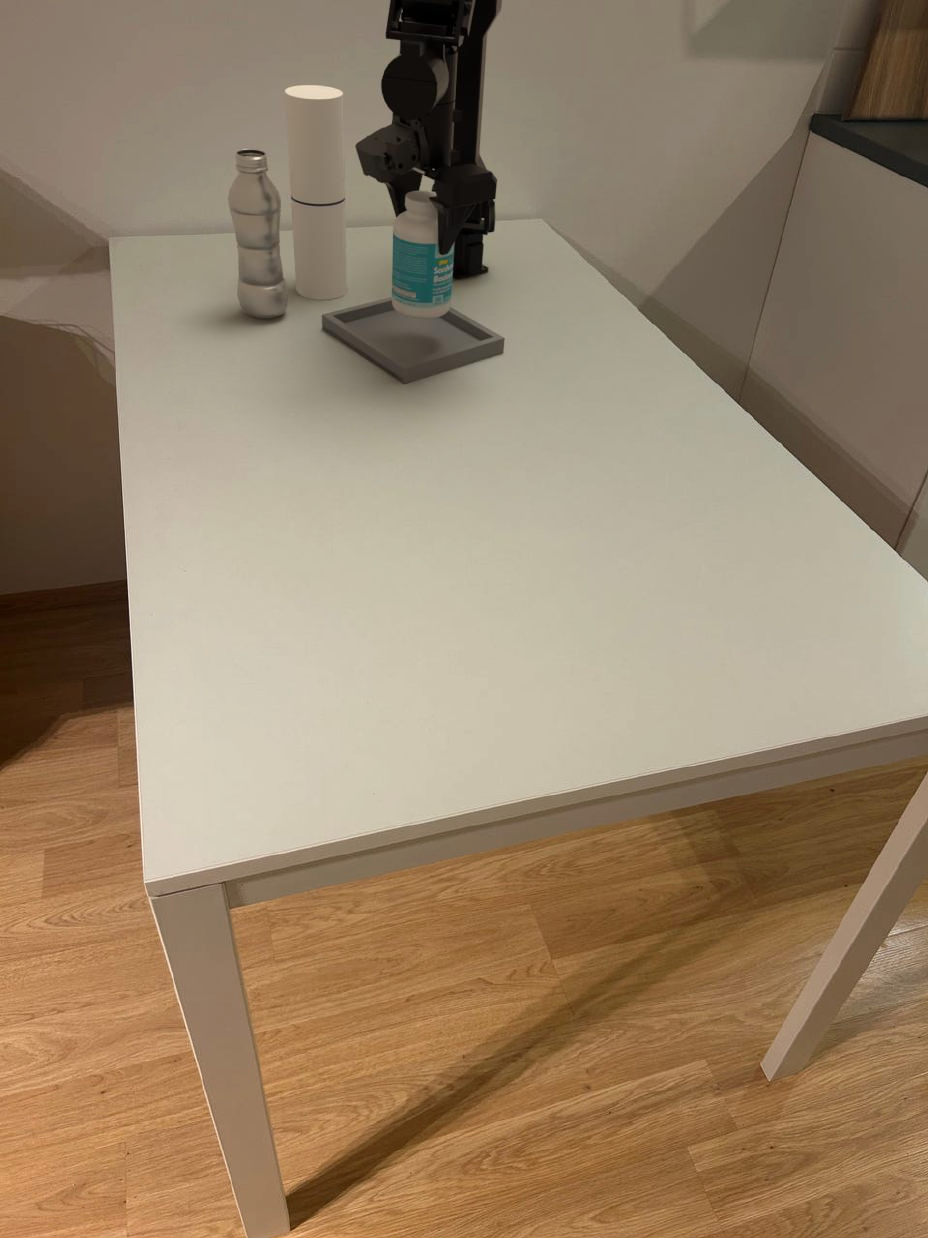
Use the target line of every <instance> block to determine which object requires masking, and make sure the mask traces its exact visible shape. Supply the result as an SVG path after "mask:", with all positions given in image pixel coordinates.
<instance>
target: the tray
mask: <svg viewBox="0 0 928 1238" xmlns="http://www.w3.org/2000/svg"><path fill="white" fill-rule="evenodd" d="M321 327H322V330H323V331H324V332H326V333H327V334H329V335H330V336H332V337H333V338H335V339H336V340H337V341H339V342H340V343H342V344H343V345H345V346H347V347H348V348H350V349H351V350H353V351H354V352H356V353H357V354H358V355H360V356H361V357H363V358H365V360H367V361H369V362H371V364H374V365H375V366H377V367H378V368H380V369H381V370H383V372H385V373H387V374H388V375H390V376H391V377H392V378H394V379H396V380H397V381H399V382H400V383H401V384H403V385H407V384H408V383H413V382H415V381H419V380H421V379H424V378H427V377H430V376H433V375H436V374H440V373H444V372H446V371H450V370H453V369H456V368H459V367H462V366H466V365H468V364H471V363H475V362H478V361H481V360H484V359H488V358H491V357H493V356H497V355H500V354H503V353H504V349H505V348H504V347H505V340H506V339H505V337H504V336H502V335H500V334H498V333H497V332H495V331H493V330H491V329H490V328H488V327H486V326H485V325H483V324H481V323H479V322H477V321H476V320H474V319H472V318H471V317H468V316H467V315H465V314H463V313H461V312H460V311H458V310H456V309H454V308H453V307H451V306H450V309H449V311H448V312H447V313H446V314H444V315H442V316H440V317H437V318H431V319H418V318H412V317H408V316H405V315H402V314H400V313H399V312H397V311H396V310H395V309H394V307H393V305H392V296H389V297H385V298H382V299H377V300H374V301H370V302H365V303H361V304H358V305H357V304H356V305H354V306H349V307H346V308H342V309H337V310H334V311H330V312H327V313H323V314H321Z"/></svg>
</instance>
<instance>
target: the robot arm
mask: <svg viewBox="0 0 928 1238" xmlns="http://www.w3.org/2000/svg"><path fill="white" fill-rule="evenodd" d="M502 4H503V0H390V2H389V6H388V7H389V8H388V15H387V21H386V28H385V39H386V40H393V41H399V52H398V53H399V54H398V55H397V56H395V57H394V58H393V59H392V60H390V62H388V64H387V66H386V67H385V68H384V70H383V74H382V77H381V79H380V81H381V82H380V88H381V95H382V97H383V100H384V103H385V105H386V106H387V108H388V109H389V110H390V111H391V112H392V119H391V120H392V121H391V124H389V125H387V126H384V127H381V128H379V129H377V130H376V131H374V132H373V133H371V134H369V135H366V137H364V138H363V139H361V140H359V141H358V142H356V144H355V150H356V153H357V157H358V159H359V160H358V161H359V162H360V166H361V170H362V172H363V173H362V174H363V175H364V176H366V177H370V178H373V179H375V180H376V181H377V182H378V183H380V184H384V185H385V186H386V188H387V192H388V194H389V198H390V200H391V204H392V209H393V211H394V215H395V219H396V218H397V216H398V215H400V214H401V213H403V212H405V211H407V209H406V206H405V196H406V194H407V193H409V192H412V191H421V185H422V181H423V180H422V179H423V176H424V177H426V178H428V179H431V180H433V184H432V186H431V191H432V192H435V193H436V195H437V196H434V197H429V200H430V201H431V202H432V204H433V205H434V206H435V208H436V209H437V211H438V246H439V254H441V255H446V254H448V253H449V251H450V249H451V247H452V245H453V244H454V242H455V244H454V260H453V276H452V279H456V280H459V279H463V278H466V277H467V278H468V277H471V276H475V275H480V274H482V273H487V272H489V269H490V268H489V267H488V266H486V265H484V264H483V260H484V248H485V247H484V246H485V243H484V236H488V235H489V233H490V234H491V233H494V232H495V230H496V202H495V200H496V199H497V198H496V197H497V189H498V187H497V186H498V178H497V177H496V175H495V174H494V173H493V172H492V171H491V170H488V169H487V167H486V165H485V162H484V161H483V159H482V156H481V155H480V153H481V152H480V151H481V150H480V149H481V138H482V137H481V136H482V132H481V131H482V117H483V106H484V105H483V104H484V89H485V87H484V86H485V74H486V73H485V71H486V60H487V59H486V58H487V45H488V44H487V43H488V33H489V31H490V29H491V27H492V26H493V24H494V23H495V21H496V19H497V18H498V16H499V14H500V12H501V10H502V7H503V5H502ZM400 20H401V21H400Z"/></svg>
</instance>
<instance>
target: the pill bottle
mask: <svg viewBox="0 0 928 1238" xmlns="http://www.w3.org/2000/svg"><path fill="white" fill-rule="evenodd" d="M434 196H437V195H436V193H435V192H432V191H430V190H419V191H412V192H409V193H407V194H406V196H405V206H406V209H407V211H405V212H403V213H401V214H400V215H398V216H397V218H396V217H395V218H394V221H393V226H392V265H391V266H392V269H391V270H392V271H391V272H392V273H391V274H392V275H391V297H392V305H393V307H394V309H395V310H396V311H397V312H399V313H400V314H402V315H405V316H408V317H412V318H418V319H431V318H437V317H440V316H442V315H444V314H446V313H447V312H448V311H449V309H450V307H451V305H452V293H453V292H452V290H453V289H452V288H453V277H452V276H453V260H454V244H455V242H454V244H453V245H452V247H451V249H450V251H449V253H448V254H446V255H441V254H439V246H438V211H437V209H436V208H435V206H434V205H433V204H432V202H431V201H430V200H429V197H434Z"/></svg>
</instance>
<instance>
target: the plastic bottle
mask: <svg viewBox="0 0 928 1238" xmlns="http://www.w3.org/2000/svg"><path fill="white" fill-rule="evenodd" d="M235 170H236V171H238V173H237V176H236V177H235V179H234V180H233V182H232V183H231V186H230V187H229V190H228V196H227V202H228V208H229V212H230V216H231V220H232V223H233V225H232V226H233V228H234V234H235V241H236V248H237V253H238V261H237V262H238V279H237V294H236V295H237V298H238V302H239V303H238V304H239V307H240V308H241V310H243V312H244V313H245V314H246V315H248V316H250V317H253V318H256V319H272V318H276V317H279V316H281V315H283V314H284V313H285V311H286V310H287V307H288V303H289V291H288V287H287V283H286V280H285V277H284V270H283V263H282V258H281V257H282V256H281V245H280V243H281V237H280V235H281V234H280V226H281V211H282V210H281V208H282V198H281V196H280V193H279V190H278V189H277V188H276V186H275V183H273V181H272V180H271V178H270V177H269V175H268V174H267V172H268V171H269V164H268V155H267V153H266V151H264V150H261V149H257V148H256V149H255V148H244V149H239V150H236V151H235Z"/></svg>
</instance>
